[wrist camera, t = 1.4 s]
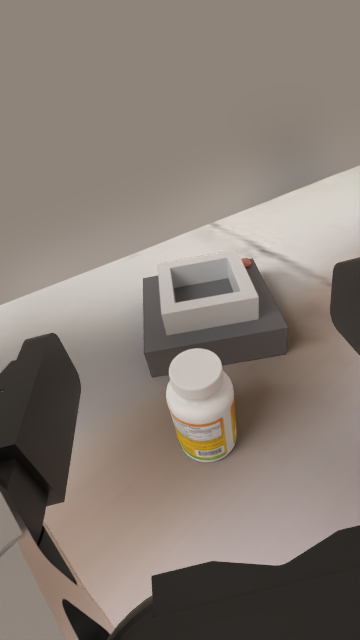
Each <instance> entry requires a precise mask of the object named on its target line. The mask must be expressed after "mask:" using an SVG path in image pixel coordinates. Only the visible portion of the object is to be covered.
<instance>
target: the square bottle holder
mask: <svg viewBox="0 0 360 640" xmlns="http://www.w3.org/2000/svg"><path fill="white" fill-rule="evenodd" d="M157 266H158V276H154V277H148V278H143V315H144V354H145V357H146V360H147V363H148V366H149V370H150V373H151V376H152V377H157V376H163V375H168V374H169V367H170V364H171V362H172V360H173V359H174V358H175V357H176V356H177V355H179V354H180V353H182V352H184V351H186V350H189V349H195V348H201V349H207V350H209V351H212V352H213V353H215V354H216V355H217V356H218V357H219V359H220V360H221V363H222V365H226V364H232V363H237V362H243V361H249V360H255V359H260V358H266V357H272V356H278V355H283V354H286V347H287V336H288V326H287V324H286V322H285V320H284V318H283V317H282V315H281V313H280V311H279V309H278V307H277V305H276V303H275V301H274V299H273V297H272V295H271V293H270V291H269V289H268V287H267V286H266V284H265V282H264V280H263V278H262V276H261V274H260V272H259V270H258V268H257V266H256V264H255V262H254V260H253V258H252V259H248V258H244V259H241V258H240V256H239V253H238V251H237V249H236V250H230V251H225V252H219V253H214V254H208V255H203V256H198V257H192V258H187V259H181V260H176V261H170V262H165V263H159V264H157Z"/></svg>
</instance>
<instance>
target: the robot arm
mask: <svg viewBox="0 0 360 640" xmlns="http://www.w3.org/2000/svg"><path fill="white" fill-rule="evenodd" d="M330 314H331V318H332V321H333V324H334V326H335V328H336V329H337V330H338V331H339V333H340V334H341V335H342V336H343V337H344V338H345V339H346V340H347V342H348V343H349V344H350V345H351V346H352V347H353V348H354V349H355V351H356V352H357V353H358V354H359V355H360V258H356V259H352V260H347V261H343V262H339V263H337V264H336V265H335V267H334V269H333V278H332V291H331V304H330ZM80 393H81V385H80V379H79V376H78V373H77V371H76V369H75V367H74V365H73V363H72V361H71V359H70V358H69V356H68V354H67V352H66V350H65V348H64V347H63V345H62V343H61V341H60V339H59V338H58V336H57V335H56V334H54V333H50V334H46V335H42V336H38V337H34V338H30V339H27V340H25V341H24V343H23V345H22V348H21V350H20V353H19V355H18V358H17V360H15V361H11V362H10V363H9V365H8V366H7V367H6V368H5V369H4V370H3V371H2V373H1V374H0V640H360V525H359V526H355V527H351V528H347V529H343V530H339V531H337V532H335V533H334V534H332V535H331V536H329V537H328V538H326V539H324V540H323V541H321V542H320V543H318V544H316V545H315V546H313V547H312V548H310V549H309V550H307V551H305V552H304V553H302V554H301V555H299V556H297V557H296V558H294V559H293V560H291V561H290V562H288V563H286V564H284V565H280V566H272V565H258V564H244V563H230V562H216V561H211V562H207V563H203V564H199V565H195V566H191V567H186V568H182V569H178V570H174V571H170V572H166V573H162V574H158V575H154V576H152V596H151V597H149V598H147V599H146V600H145V601H143V602H142V603H141V604H140V605H138V606H137V607H136V608H135V609H133V610H132V611H131V612H130V613H129V614H128V615H127V616H126V617H125V618H124V619H123V620H122V621H121V622H120V623H119V625H118V626H117V627H116V628H114V627H113V625H112V624H111V622H110V620H109V619H108V618H107V616H106V615H105V613H104V612H103V610H102V609H101V608H100V607H99V605H98V604H97V603H96V602H95V600H94V599H93V598H92V597H91V595H90V594H89V593H88V591H87V590H86V588H85V587H84V585H83V584H82V582H81V580H80V579H79V577H78V575H77V574H76V572H75V570H74V569H73V567H72V566H71V564H70V562H69V561H68V559H67V557H66V556H65V554H64V552H63V551H62V549H61V547H60V546H59V544H58V543H57V541H56V539H55V538H54V536H53V534H52V533H51V531H50V529H49V528H48V526H47V525H46V524H45V522H44V521H43V520H44V515H45V510H46V506H49V505H53V504H57V503H61V502H64V499H65V493H66V486H67V479H68V473H69V466H70V459H71V453H72V446H73V440H74V433H75V426H76V420H77V413H78V406H79V400H80Z"/></svg>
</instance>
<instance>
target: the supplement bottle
mask: <svg viewBox="0 0 360 640" xmlns="http://www.w3.org/2000/svg"><path fill="white" fill-rule="evenodd" d="M169 377H170V381H169V383H168V386H167V389H166V400H167V404H168V407H169V410H170V413H171V417H172V420H173V423H174V426H175V430H176V433H177V436H178V440H179V442H180V445H181V447H182V449H183V450H184V452H185V453H186V454H187V455H188V456H190V457H191V458H193V459H195V460H197V461H201V462H214V461H218V460H220V459H222V458H224V457H225V456H227V455H228V454H229V453H230V452H231V450H232V449H233V447H234V445H235V442H236V438H237V428H236V416H235V401H234V390H233V385H232V382H231V380H230V378H229V377H228V375H227V374H226V373H225V372H224V371H223V368H222V363H221V360H220V359H219V357H218V356H217V355H216V354H215V353H213V352H212V351H209V350H207V349H201V348H195V349H189V350H186V351H184V352H182V353H180V354H179V355H177V356H176V357H175V358H174V359H173V360H172V362H171V364H170V367H169Z"/></svg>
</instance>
